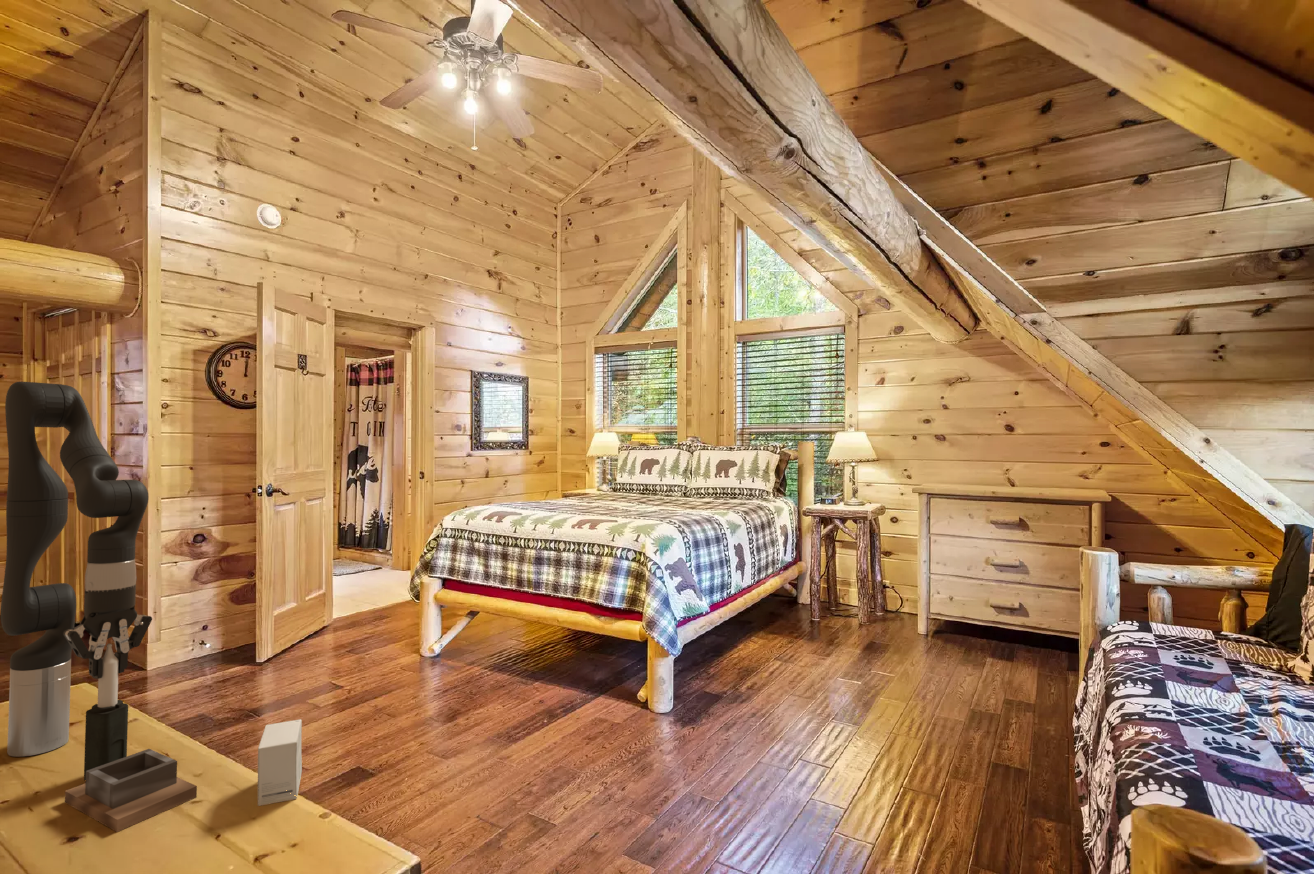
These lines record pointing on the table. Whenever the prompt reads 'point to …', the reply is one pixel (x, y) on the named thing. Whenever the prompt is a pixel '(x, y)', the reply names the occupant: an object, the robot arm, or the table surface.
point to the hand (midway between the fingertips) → (108, 674)
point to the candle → (106, 719)
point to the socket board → (131, 790)
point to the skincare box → (279, 762)
